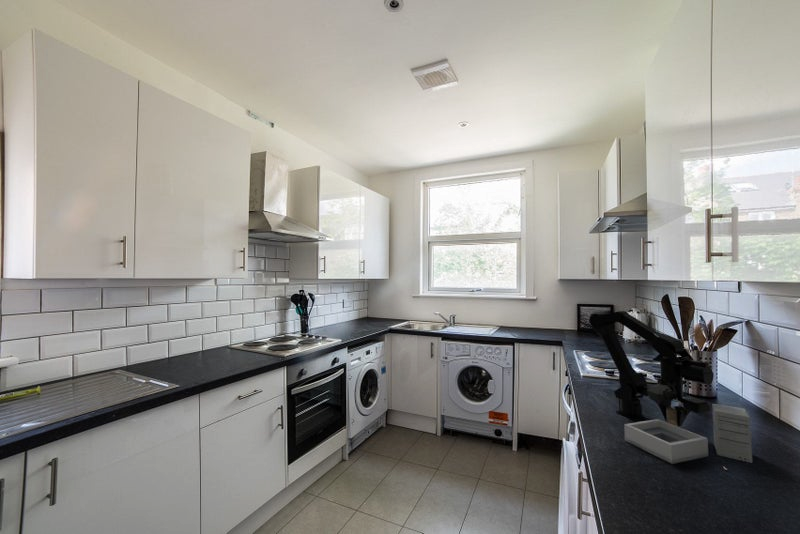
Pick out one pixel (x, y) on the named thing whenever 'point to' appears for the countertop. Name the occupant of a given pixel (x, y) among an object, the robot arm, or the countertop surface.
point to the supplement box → (732, 432)
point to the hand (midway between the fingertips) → (673, 423)
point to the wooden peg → (671, 416)
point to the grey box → (666, 440)
